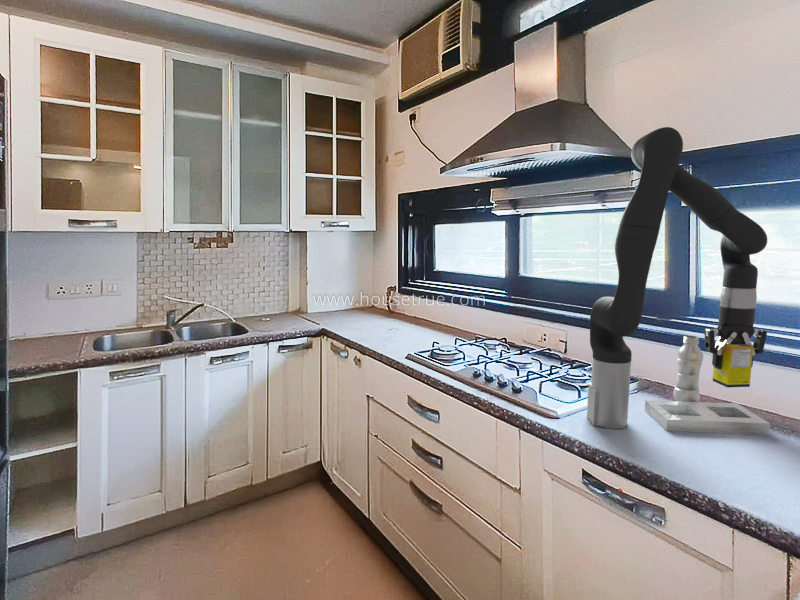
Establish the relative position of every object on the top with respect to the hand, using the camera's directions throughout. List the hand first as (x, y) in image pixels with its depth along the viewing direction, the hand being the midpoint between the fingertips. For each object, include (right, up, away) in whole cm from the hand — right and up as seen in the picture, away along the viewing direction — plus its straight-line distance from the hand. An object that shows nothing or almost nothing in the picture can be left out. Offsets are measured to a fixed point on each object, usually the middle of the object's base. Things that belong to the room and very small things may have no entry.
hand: (731, 368), depth 123 cm
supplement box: (0, -4, +1) cm, 4 cm away
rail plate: (-6, -15, +3) cm, 16 cm away
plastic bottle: (-2, -13, +16) cm, 21 cm away
